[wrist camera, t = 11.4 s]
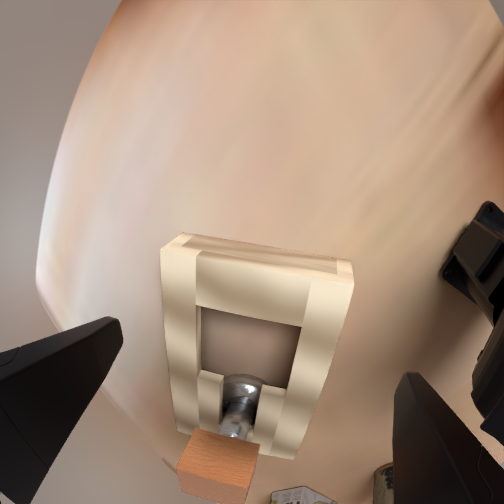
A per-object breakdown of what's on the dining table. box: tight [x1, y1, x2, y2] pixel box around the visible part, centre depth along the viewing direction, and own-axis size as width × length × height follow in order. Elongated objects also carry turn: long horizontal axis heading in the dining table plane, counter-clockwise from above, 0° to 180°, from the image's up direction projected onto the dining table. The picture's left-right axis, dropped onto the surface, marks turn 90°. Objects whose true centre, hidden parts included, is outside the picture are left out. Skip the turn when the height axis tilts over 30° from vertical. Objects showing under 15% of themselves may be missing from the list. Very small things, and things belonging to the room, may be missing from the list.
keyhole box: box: [160, 232, 354, 460], centre depth 23 cm, size 20×12×4 cm, turn 175°
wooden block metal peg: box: [176, 374, 269, 504], centre depth 22 cm, size 5×5×11 cm
